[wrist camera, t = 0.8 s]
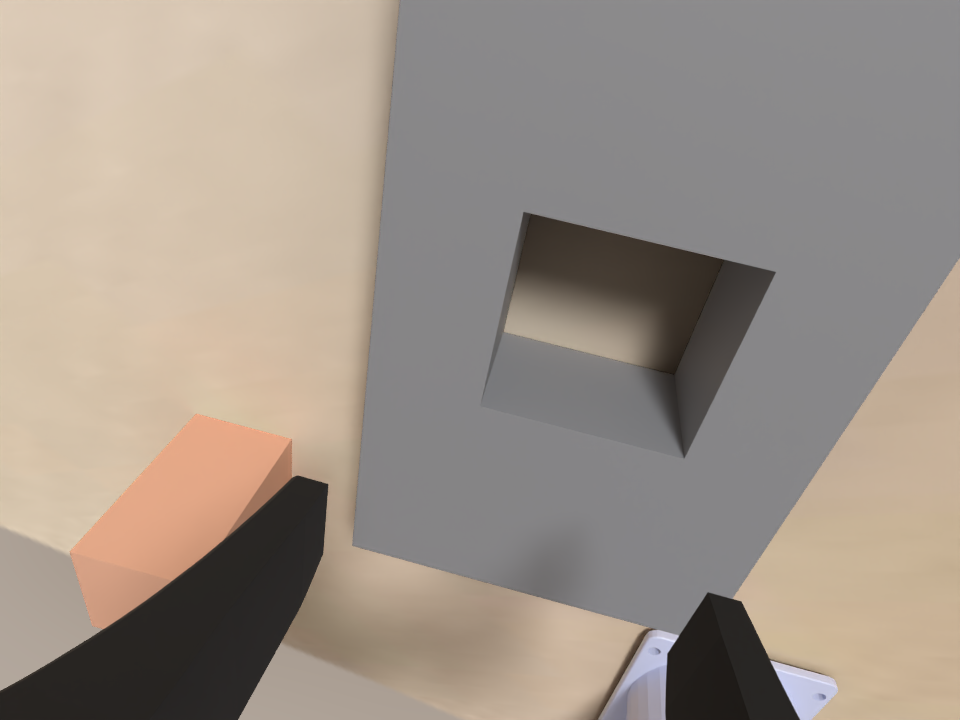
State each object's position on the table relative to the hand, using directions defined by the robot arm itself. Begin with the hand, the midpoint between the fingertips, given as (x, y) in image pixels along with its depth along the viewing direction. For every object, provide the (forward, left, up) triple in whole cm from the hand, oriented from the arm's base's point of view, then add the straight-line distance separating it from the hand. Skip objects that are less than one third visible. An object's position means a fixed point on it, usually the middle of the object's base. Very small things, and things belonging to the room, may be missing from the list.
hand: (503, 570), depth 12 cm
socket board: (+2, -1, -10) cm, 10 cm away
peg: (-10, +11, -10) cm, 18 cm away
